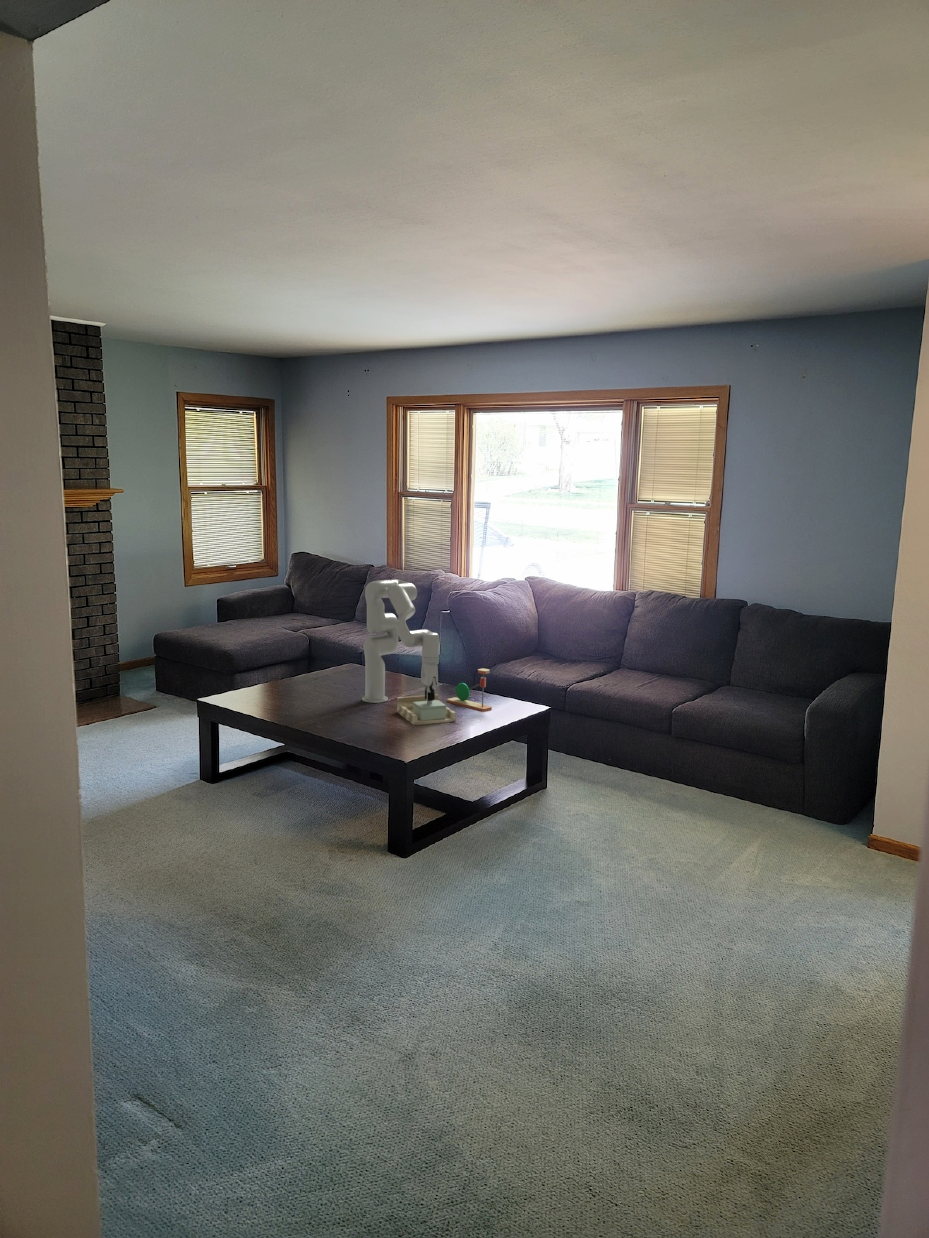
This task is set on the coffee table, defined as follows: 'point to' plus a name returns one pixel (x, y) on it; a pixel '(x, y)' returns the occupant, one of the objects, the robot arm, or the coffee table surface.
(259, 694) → the coffee table surface
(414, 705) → the green joystick
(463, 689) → the crank mechanism
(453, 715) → the bay
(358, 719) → the coffee table surface
